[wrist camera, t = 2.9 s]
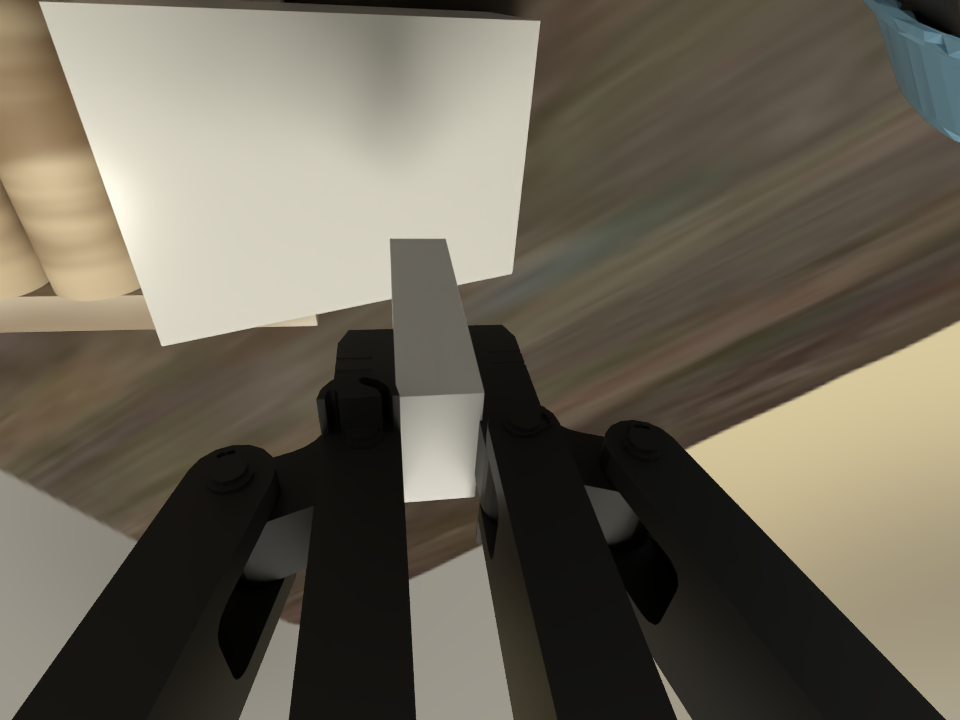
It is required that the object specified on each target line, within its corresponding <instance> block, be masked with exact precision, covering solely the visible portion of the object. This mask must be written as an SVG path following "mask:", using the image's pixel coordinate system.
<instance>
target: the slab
mask: <svg viewBox="0 0 960 720" xmlns="http://www.w3.org/2000/svg"><path fill="white" fill-rule="evenodd" d="M39 4H40V6H41V9H42V12H43V15H44V18H45V20H46V23H47V26H48V29H49V32H50V34H51V37H52V40H53V43H54V46H55V48H56V51H57V54H58V57H59V60H60V62H61V65H62V68H63V71H64V74H65V76H66V79H67V82H68V85H69V88H70V90H71V93H72V96H73V99H74V102H75V104H76V107H77V110H78V113H79V116H80V118H81V121H82V124H83V127H84V130H85V132H86V135H87V138H88V141H89V144H90V146H91V149H92V152H93V155H94V158H95V160H96V163H97V166H98V169H99V172H100V174H101V177H102V180H103V183H104V186H105V188H106V191H107V194H108V197H109V200H110V202H111V205H112V208H113V211H114V214H115V216H116V219H117V222H118V225H119V228H120V230H121V233H122V236H123V239H124V242H125V244H126V247H127V250H128V253H129V256H130V258H131V261H132V264H133V267H134V270H135V272H136V275H137V278H138V281H139V284H140V286H141V289H142V292H143V295H144V298H145V300H146V303H147V306H148V309H149V312H150V314H151V317H152V320H153V323H154V326H155V328H156V331H157V334H158V337H159V340H160V342H161V345H162V346H167V345H171V344H176V343H181V342H186V341H191V340H195V339H200V338H205V337H210V336H215V335H219V334H224V333H229V332H234V331H239V330H244V329H248V328H253V327H258V326H263V325H268V324H272V323H277V322H282V321H287V320H292V319H297V318H301V317H306V316H311V315H316V314H321V313H325V312H330V311H335V310H340V309H345V308H350V307H354V306H359V305H364V304H369V303H374V302H378V301H383V300H388V299H392V290H391V260H390V239H446V242H447V246H448V250H449V254H450V258H451V262H452V266H453V270H454V274H455V278H456V281H457V285H460V284H465V283H470V282H475V281H480V280H484V279H489V278H494V277H499V276H504V275H508V274H512V270H513V261H514V252H515V243H516V234H517V225H518V216H519V208H520V199H521V190H522V181H523V172H524V163H525V154H526V145H527V136H528V127H529V118H530V109H531V100H532V92H533V83H534V74H535V65H536V56H537V47H538V38H539V29H540V21H537V20H532V19H526V18H520V17H515V16H509V15H503V14H498V13H492V12H479V11H457V10H435V9H413V8H391V7H369V6H347V5H325V4H303V3H281V2H259V1H237V0H40V1H39Z"/></svg>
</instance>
